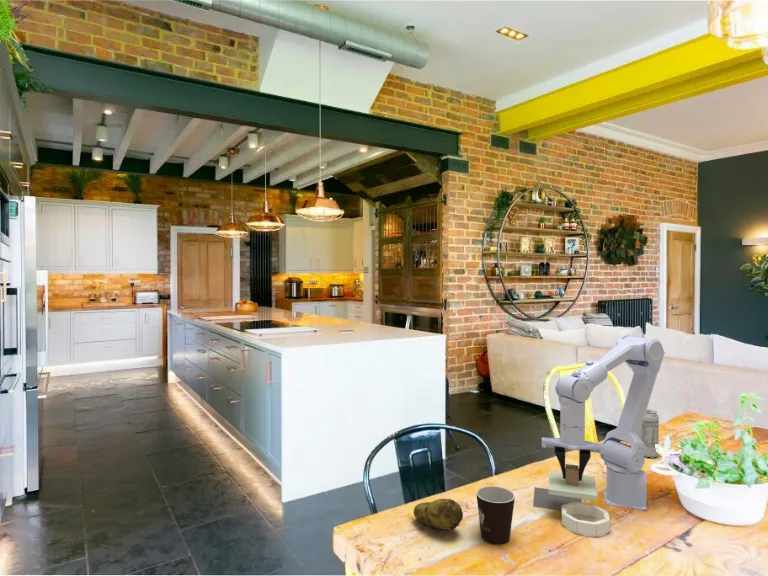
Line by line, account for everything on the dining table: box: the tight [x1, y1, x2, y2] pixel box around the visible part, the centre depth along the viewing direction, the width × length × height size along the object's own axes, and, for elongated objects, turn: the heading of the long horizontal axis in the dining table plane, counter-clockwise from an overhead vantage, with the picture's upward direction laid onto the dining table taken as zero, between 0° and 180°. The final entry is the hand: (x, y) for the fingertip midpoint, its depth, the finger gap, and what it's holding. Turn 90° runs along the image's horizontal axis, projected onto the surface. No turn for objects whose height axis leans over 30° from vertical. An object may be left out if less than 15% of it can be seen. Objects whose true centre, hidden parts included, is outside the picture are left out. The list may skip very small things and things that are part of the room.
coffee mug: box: [475, 485, 516, 546], centre depth 114 cm, size 12×9×10 cm
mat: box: [532, 486, 583, 512], centre depth 130 cm, size 12×12×1 cm
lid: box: [547, 463, 598, 502], centre depth 123 cm, size 11×11×5 cm
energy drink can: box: [639, 408, 660, 459], centre depth 162 cm, size 6×6×15 cm
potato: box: [413, 498, 464, 531], centre depth 116 cm, size 8×13×8 cm, turn 26°
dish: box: [561, 502, 611, 538], centre depth 117 cm, size 10×10×3 cm
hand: (572, 478), depth 122 cm, fingers closed on lid, 3 cm apart
